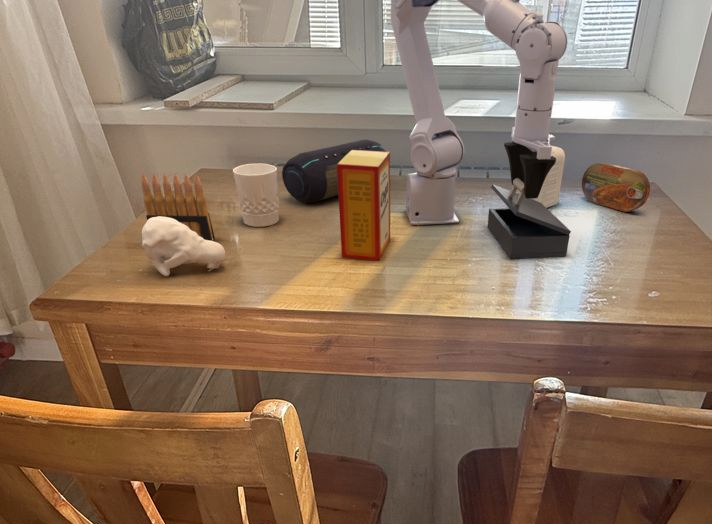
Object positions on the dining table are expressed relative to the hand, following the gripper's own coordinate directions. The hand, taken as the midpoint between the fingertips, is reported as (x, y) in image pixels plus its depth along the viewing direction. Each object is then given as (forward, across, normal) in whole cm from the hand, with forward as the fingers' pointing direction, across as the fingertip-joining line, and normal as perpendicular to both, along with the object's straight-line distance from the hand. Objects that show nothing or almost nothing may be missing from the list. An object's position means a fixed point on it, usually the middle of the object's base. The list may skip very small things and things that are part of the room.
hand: (524, 191), depth 101 cm
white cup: (+10, +16, +47) cm, 50 cm away
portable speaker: (+10, +32, +31) cm, 45 cm away
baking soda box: (+10, 0, +28) cm, 29 cm away
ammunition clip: (+10, +7, +60) cm, 61 cm away
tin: (+10, +17, -26) cm, 33 cm away
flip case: (+9, 0, -1) cm, 9 cm away
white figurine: (+10, -5, +57) cm, 58 cm away
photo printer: (+10, +18, -10) cm, 23 cm away
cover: (+4, 0, -1) cm, 4 cm away
